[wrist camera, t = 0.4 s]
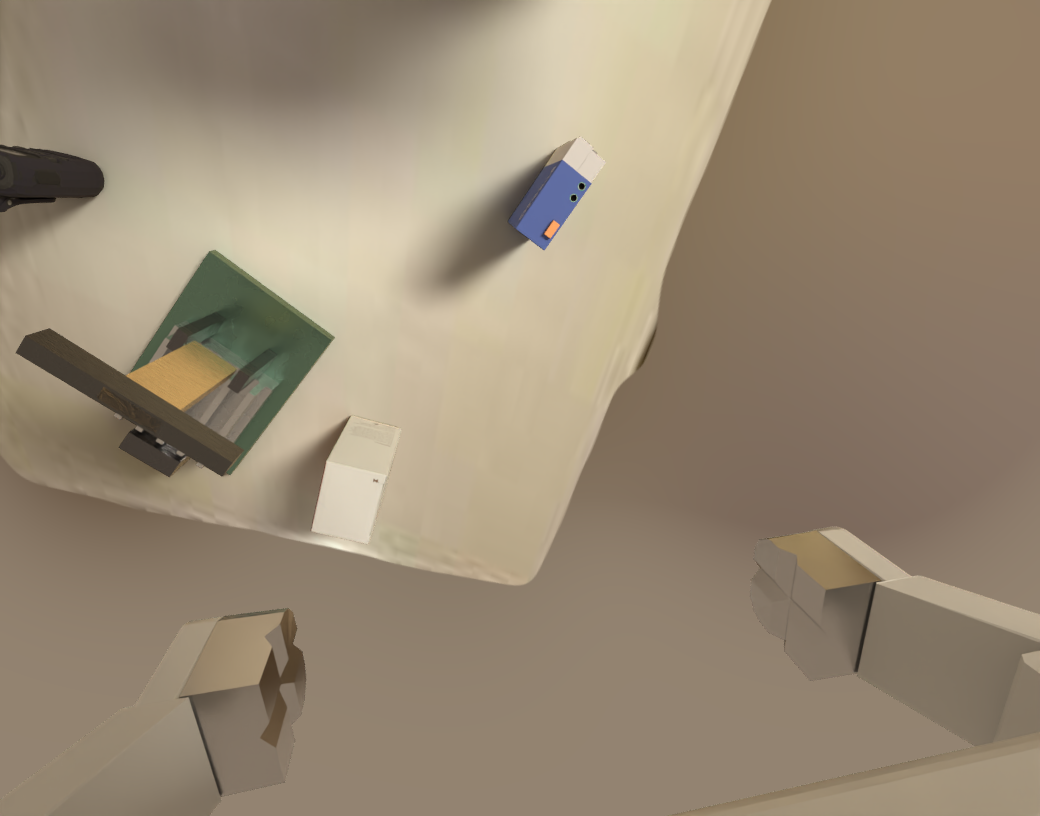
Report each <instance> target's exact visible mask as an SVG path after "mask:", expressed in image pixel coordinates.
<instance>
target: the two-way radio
mask: <svg viewBox="0 0 1040 816" xmlns="http://www.w3.org/2000/svg"><path fill="white" fill-rule="evenodd" d="M103 187H104V177H103V173H102V171H101V169H100V168H99V167H98V166H97V165H96V164H95V163H94V162H91V161H88V160H85V159H82V158H79V157H76V156H72V155H68V154H64V153H60V152H55V151H50V150H42V149H33V148H30V149H26V148H23V147H18V146H13V147H7V146H4V145H0V212H5V211H6V210H7V209H9V208H11V207H13V206H16V205H19V204H27V203H48V202H54V201H55V199H56V198H83V197H94V196H96V195H98V194H99V192H100V191H101V190H102V189H103Z"/></svg>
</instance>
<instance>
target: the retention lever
mask: <svg viewBox="0 0 1040 816" xmlns="http://www.w3.org/2000/svg"><path fill="white" fill-rule="evenodd" d="M16 353H17V354H19V355H20V356H22V357H24V358H25V359H27V360H29V361H30V362H32V363H34V364H35V365H37V366H39V367H40V368H42V369H44V370H45V371H47V372H49V373H50V374H52V375H54V376H55V377H57V378H59V379H60V380H62V381H64V382H65V383H67V384H69V385H70V386H72V387H74V388H75V389H77V390H79V391H80V392H82V393H84V394H85V395H87V396H89V397H90V398H92V399H94V400H95V401H97V402H99V403H100V404H102V405H104V406H105V407H107V408H109V409H110V410H112V411H114V412H115V413H117V414H119V415H120V416H122V417H124V418H125V419H127V420H129V421H130V422H132V423H134V424H135V425H137V426H139V427H140V428H142V429H144V430H145V431H147V432H149V433H150V434H152V435H154V436H155V437H157V438H159V439H160V440H162V441H164V442H165V443H167V444H169V445H170V446H172V447H174V448H175V449H177V450H179V451H180V452H182V453H184V454H185V455H187V456H189V457H190V458H192V459H194V460H195V461H197V462H199V463H200V464H202V465H204V466H205V467H207V468H209V469H210V470H212V471H214V472H215V473H217V474H219V475H220V476H223V475H224V474H225V473H226V472H227V471H228V470H229V469H230V467H231V466H232V465H233V464H234V463H235V462H236V460H237V459H238V458H239V456H240V455H241V454H242V452H243V451H244V449H242V448H241V447H239V446H237V445H236V444H234V443H233V442H231V441H229V440H228V439H226V438H225V437H223V436H221V435H220V434H218V433H217V432H215V431H213V430H212V429H210V428H208V427H207V426H205V425H204V424H202V423H200V422H199V421H197V420H196V419H194V418H192V417H191V416H189V415H188V414H186V413H184V412H185V411H186V410H188V409H189V408H190V407H192V406H193V405H195V404H196V403H197V402H199V401H200V400H201V399H203V398H204V397H205V396H207V395H208V394H209V393H211V392H212V391H214V390H215V389H216V388H218V387H219V386H220V385H222V384H223V383H224V382H226V381H227V380H228V379H230V378H231V377H232V376H233V374H234V373H235V372H236V370H237V368H235V367H234V366H232V365H231V364H229V363H228V362H226V361H225V360H223V359H222V358H220V357H219V356H217V355H216V354H214V353H213V352H211V351H210V350H208V349H207V348H205V347H204V346H202V345H201V344H199V343H198V342H196V341H195V340H194V341H192V342H190V343H188V344H186V345H184V346H182V347H181V348H179V349H177V350H175V351H173V352H171V353H169V354H167V355H165V356H163V357H161V358H159V359H157V360H155V361H153V362H151V363H149V364H147V365H145V366H143V367H141V368H139V369H137V370H135V371H133V372H132V373H130V374H128V375H126V376H125V375H124V374H122V373H120V372H119V371H117V370H116V369H114V368H112V367H111V366H109V365H107V364H106V363H104V362H103V361H101V360H99V359H98V358H96V357H95V356H93V355H91V354H90V353H88V352H87V351H85V350H83V349H82V348H80V347H79V346H77V345H75V344H74V343H72V342H71V341H69V340H67V339H66V338H64V337H63V336H61V335H59V334H58V333H56V332H55V331H53V330H51V329H50V328H49V329H46V330H42V331H39V332H36V333H33V334H30V335H26V336H25V338H24V339H23V341H22V343H21V344H20V346H19V348H18V350H17V351H16Z"/></svg>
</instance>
